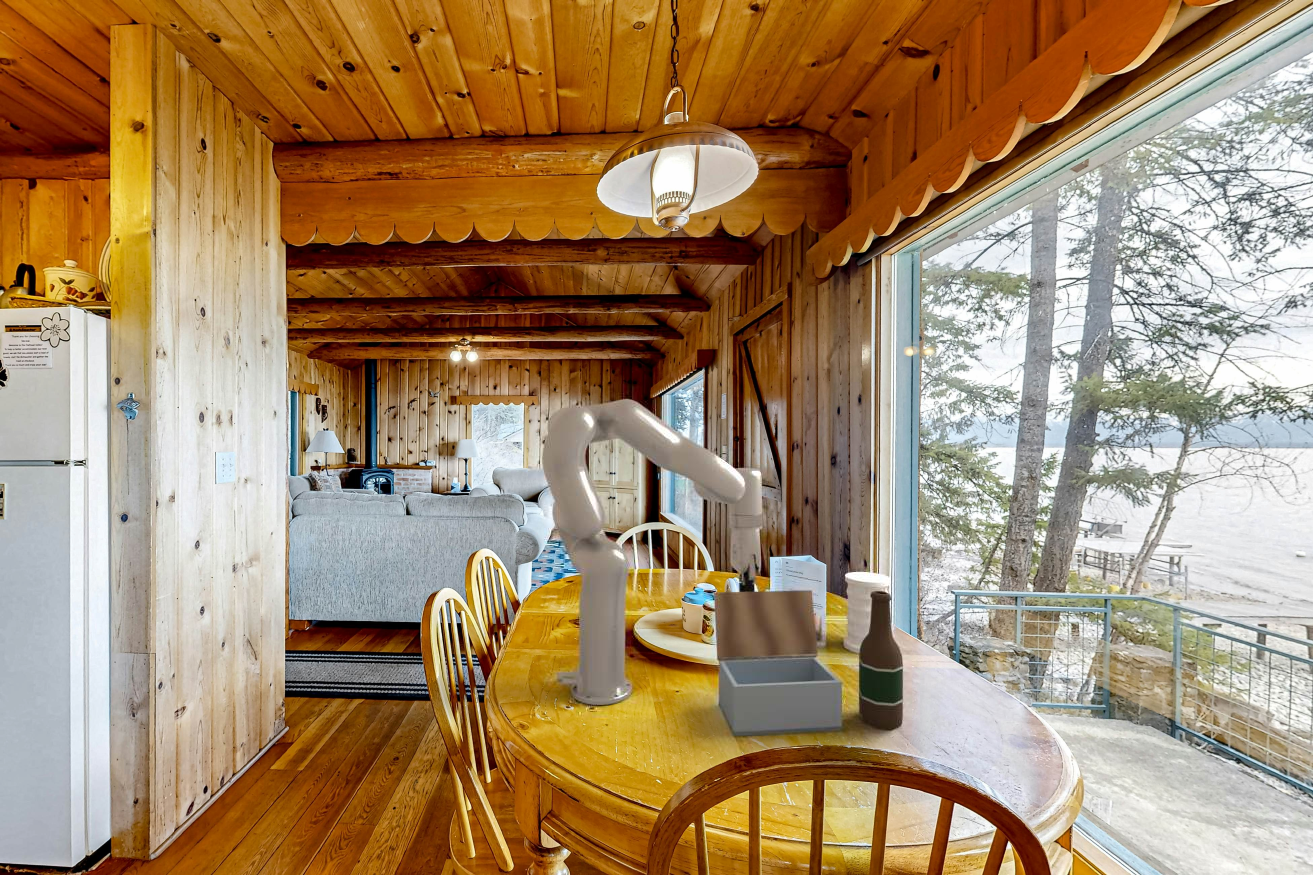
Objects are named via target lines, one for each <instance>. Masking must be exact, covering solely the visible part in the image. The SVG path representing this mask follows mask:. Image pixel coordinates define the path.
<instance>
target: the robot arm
mask: <svg viewBox="0 0 1313 875" xmlns="http://www.w3.org/2000/svg"><path fill="white" fill-rule="evenodd" d="M546 428H547V429H546V430H547V434H546V437H545V441H544V444H543V447H542V455H541V456H542V457H541V462H542V470H543V474H544V476H545V479H546V482H547V485H548V488H549V490H550V493H551V496H552V498H553V500H554V501H553V505H552V511H551V512H552V514H551V515H552V519H553V523H554V525H555V528H556V531H557V533H558V536H559V538H560V540H561V543H562V545H563V547H564V550H565V552H566V554H567V556H568V558H569V561H570V562H571V564H572V566H573V568H574V569H575V571H577V573H579V574H580V575H581V587H580V593H579V606H578V609H579V610H578V611H579V612H578V618H579V619H578V620H579V626H578V627H579V628H578V632H579V633H578V634H579V636H578V665H577V669H572V671H570V672H568V671H567V672H566V671H557V674H556V682H557V683H561V684H562V686H563V687H566V686H571V687H570V688H571V689H570V691H571V692H570V694H571V696H572V697H573V699H574V700H577V701H578V702H580V703H583V704H587V705H593V706H607V705H613V704H617V703H619V702H622V701H624V700H626V699H627V698H629V697H630V695H632V692H633V683H632V682H631V681H630V680H629V679H628V678H626V677H625V676H626V671H625V670H626V669H625V668H626V666H625V665H626V662H625V660H626V659H625V658H626V596H627V594H626V592H627V585H628V579H629V578H628V577H629V569H630V568H629V567H630V566H629V565H630V564H629V561H628V557H627V554H626V552H625V550H624V549H623V548H622V547H621V545H619V544H618V542H615V541H613V540H611V539H609V538H608V537H607V535H606V532H605V530H604V529H603V528H604V526H605V522H606V513H605V511H606V510H605V508H604V506H603V504H602V502H601V500H600V497H599V494H598V493H597V490H596V488H595V485H594V483H593V481H592V478H591V475H590V471H589V470H588V466H587V463H586V451H587V449H588V446H589V444H593V443H594V444H595V443H600V442H605V441H610V440H616V439H617V440H618V439H619V440H621V441H623V442H624V443H625V444H627V445H628V446H629V447H630V448H633V449H634V450H635V451H637V452H638V453H640V454H641V456H642V455H643V456H644V457H645V458H646V459H648V460H649V461H651V462H652V463H653V464H655V465H656V466H657V467H660V468H662V469H664V470H666V471H668V472H671V473H673V474H677V475H679V476H683V477H685V478H686V479H689V480H690V481H692V482H693V488H694V491H695V493H696V495H698V496H699V497H700V498H701V499H703V500H706V501H709V502H710V501H711V502H714V503H715V502H716V503H720V504H725V505H729V515H728V516H729V528H730V529H731V535H730V559H729V560H730V566H731V567H732V568H733V569H734V570H736V571H737V573H738V581H739V582H738V588H739V589H738V592H756V591H755V589H756V588H755V584H756V583H755V582H756V579H757V578H756V575H757V574H759V573H760V572H761V571H762V570H761V568H762V556H761V553H762V552H761V551H762V550H761V538H760V530H762V529H763V482H762V480H763V479H762V478H763V476H762V472H761V471H760V470H759V469H758V468H752V467H738V468H735V467H733V466H732V465H730V464H729V463H728V462H726V461H725V460H724V459H723V458H721V457H720V456H719V455H717V454H715V453H714V452H713V451H711V450H708V449H707V448H705V447H703V446H701V445H700V444H698V443H696V442H694V441H693V440H691V439H689V438H688V437H685V436H684V435H682V434H681V433H679V432H678V431H676V430H675V429H674V428H672V427H671V426H670V425H669V424H667V423H666V422H665V421H663V420H662V419H660V418H659V417H658V416H656V415H655V414H654V413H653V412H651V411H650V410H649V409H648V408H647V407H644V406H643V405H642V404H640V403H639V402H638V401H635V400H633V399H630V398H625V399H619V400H613V401H609V402H604V403H598V404H592V405H584V406H583V405H577V404H576V405H569V406H566V407H563V408H560V409H558V410H556V411H554V412H553V413H552V414H551V415H550V417H549V418H548V421H547V424H546Z"/></svg>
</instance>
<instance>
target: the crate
mask: <svg viewBox="0 0 1313 875" xmlns="http://www.w3.org/2000/svg"><path fill="white" fill-rule="evenodd" d="M718 706H719V708H720V710H721V713H722V715H723V717H724V719H725V721H726V724H727V725H728V728H729V729H730V732H731V733H732V735H733V737H735V738H737V737H752V736H771V735H786V734H787V735H789V734H808V733H824V732H826V733H827V732H842V731H843V681H842V680H841V679H840V678H838V677H837V676H836V674H834V673H833V672H832V671H831V669H829V668H828V667H827V666H826V665H825V664H824V663H823V662H822V660H820V659H819V658H818V657H793V658H766V659H740V660H718Z"/></svg>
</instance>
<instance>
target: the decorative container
mask: <svg viewBox="0 0 1313 875" xmlns="http://www.w3.org/2000/svg"><path fill="white" fill-rule="evenodd" d="M844 575H845V578H844V580H845V582H846V583H847V588H846V595H847V600H846V607H847V612H846V619H847V624H846V626H845V627H846V632H847V636H845V637H844V638H843V647H844V648H845V649H847V650H848V651H850V652H852V653H855V654H859V652H860V646H861V644H862V641H863V640H864V638H865V637H866V636H867V635H868V633H869V628H870V619H871V605H872V598H871V597H870V595H871V592H874V591H884V592H887V593H889V591H888V587H889V586H891V578H890V577H889V576H888V575H884V574H881V573H875V572H865V571H855V572H854V571H852V572H847V573H846V574H844Z"/></svg>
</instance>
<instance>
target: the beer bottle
mask: <svg viewBox="0 0 1313 875" xmlns="http://www.w3.org/2000/svg"><path fill="white" fill-rule="evenodd" d="M870 597H871V598H872V605H871V619H870V628H869V633H868V635H867V636H866V637H865V638H864V640H863V641H862V644H861V646H860V652H859V655H858V708H859V715H860V717H861V720H862V722H863V723H864V724H866V725H868V726H870V727H872V728H875V729H880V730H890V731H893V730H895V729H897V728H899V727H900V726H901V727H902V724H903V719H904V718H903V716H904V713H903V712H904V710H903V709H904V704H903V703H904V686H903V685H904V666H903V665H904V664H903V654H902V652H901V649H900V646H899V644H897V642H896V640H895V638H894V636H893V630H892V617H891V614H892V613H891V601H892V596H891V594H890V593H889V592H888V593H887V592H884V591H874V592H871V595H870Z"/></svg>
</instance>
